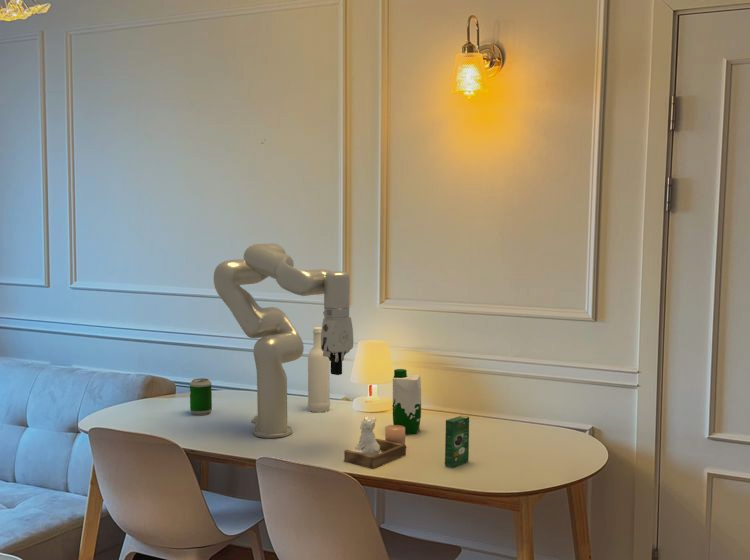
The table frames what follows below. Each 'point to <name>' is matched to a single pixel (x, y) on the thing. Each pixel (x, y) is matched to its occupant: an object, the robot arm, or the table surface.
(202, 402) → the soda can
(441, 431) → the table surface
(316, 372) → the bottle
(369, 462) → the display bay
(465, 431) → the coffee box
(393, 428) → the tan rounded cylinder
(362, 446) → the white creature statuette
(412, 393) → the milk carton
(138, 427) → the table surface
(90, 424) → the table surface
